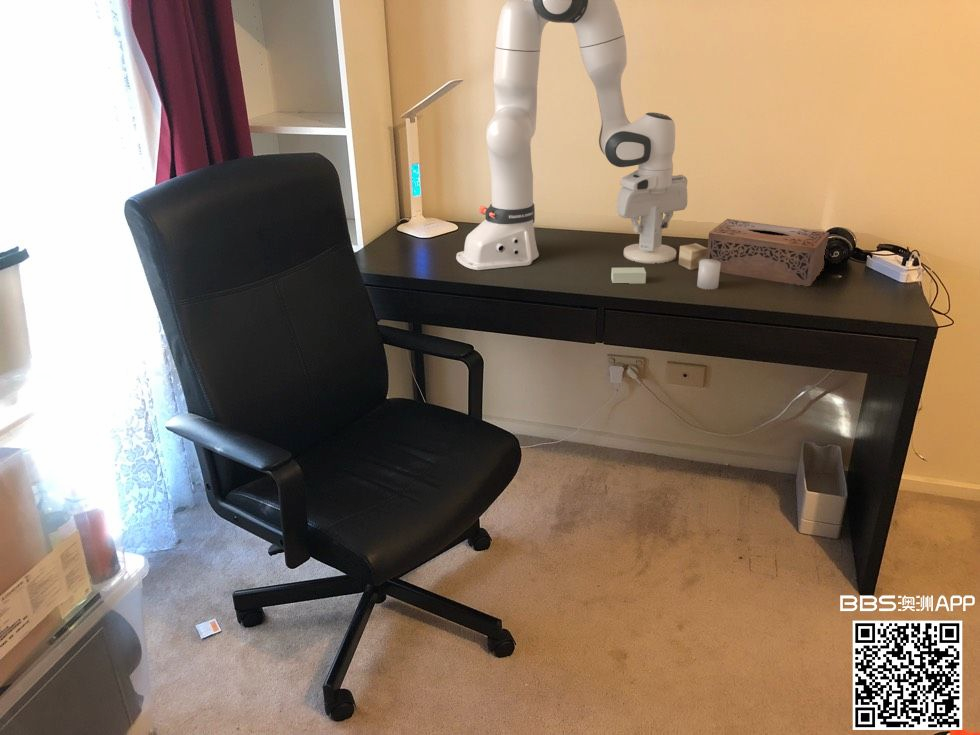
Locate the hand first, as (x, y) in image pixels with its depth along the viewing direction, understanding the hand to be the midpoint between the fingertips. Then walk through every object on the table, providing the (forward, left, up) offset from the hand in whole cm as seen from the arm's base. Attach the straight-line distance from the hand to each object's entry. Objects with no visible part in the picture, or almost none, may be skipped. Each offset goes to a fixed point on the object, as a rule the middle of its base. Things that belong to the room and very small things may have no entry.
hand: (650, 229), depth 214 cm
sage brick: (-16, -14, -7) cm, 23 cm away
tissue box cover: (+19, -23, -8) cm, 31 cm away
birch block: (+5, -12, -7) cm, 15 cm away
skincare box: (0, 0, -5) cm, 5 cm away
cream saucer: (0, 0, -7) cm, 7 cm away
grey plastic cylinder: (-1, -26, -7) cm, 27 cm away
